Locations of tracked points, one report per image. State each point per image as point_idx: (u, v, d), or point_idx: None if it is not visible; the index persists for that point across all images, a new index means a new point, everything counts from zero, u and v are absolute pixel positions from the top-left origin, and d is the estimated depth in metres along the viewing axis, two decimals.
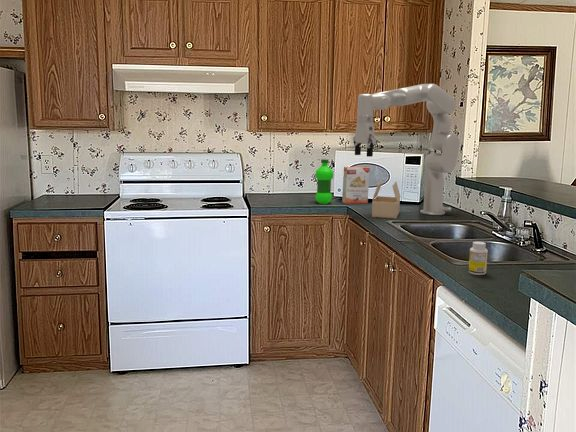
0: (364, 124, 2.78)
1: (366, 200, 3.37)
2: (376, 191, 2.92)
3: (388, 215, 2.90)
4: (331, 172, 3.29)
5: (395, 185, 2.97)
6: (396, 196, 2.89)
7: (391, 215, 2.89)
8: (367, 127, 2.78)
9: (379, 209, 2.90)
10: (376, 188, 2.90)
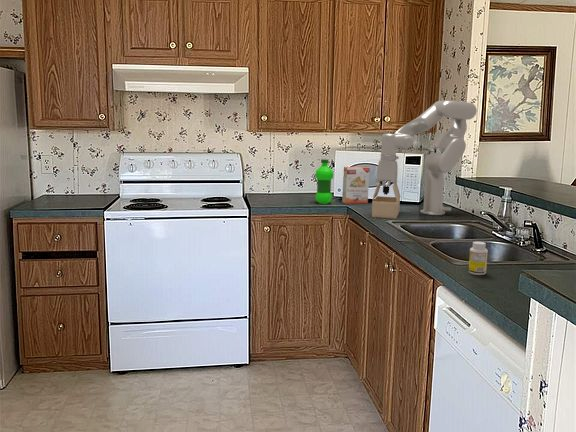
0: (393, 162, 2.93)
1: (366, 200, 3.37)
2: (376, 191, 2.92)
3: (388, 215, 2.90)
4: (331, 172, 3.29)
5: (395, 185, 2.97)
6: (396, 196, 2.89)
7: (391, 215, 2.89)
8: (396, 165, 2.93)
9: (379, 209, 2.90)
10: (376, 188, 2.90)
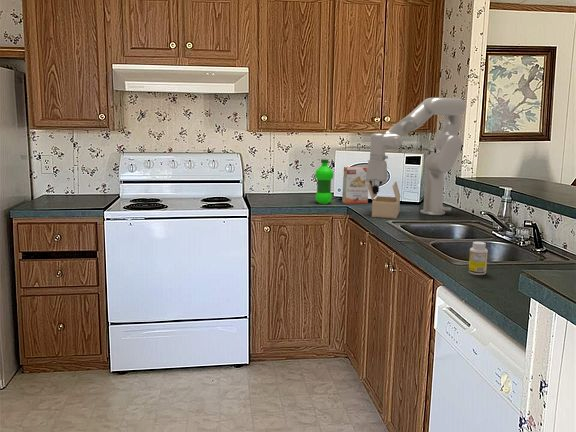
0: (382, 162, 2.94)
1: (366, 200, 3.37)
2: (370, 190, 2.92)
3: (388, 215, 2.90)
4: (331, 172, 3.29)
5: (395, 185, 2.97)
6: (396, 196, 2.89)
7: (391, 215, 2.89)
8: (385, 165, 2.95)
9: (379, 209, 2.90)
10: (368, 188, 2.91)
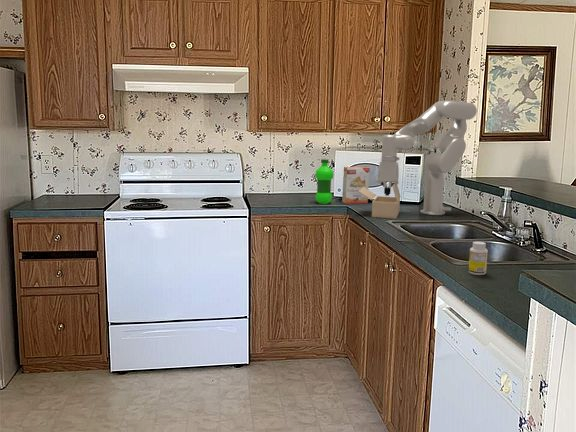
0: (393, 164, 2.93)
1: (366, 200, 3.37)
2: (364, 194, 2.93)
3: (388, 215, 2.90)
4: (331, 172, 3.29)
5: (395, 185, 2.97)
6: (396, 196, 2.89)
7: (391, 215, 2.89)
8: (397, 166, 2.94)
9: (379, 209, 2.90)
10: None
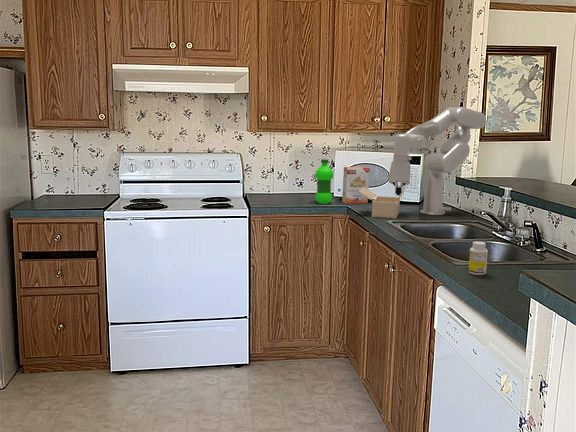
0: (405, 163, 2.91)
1: (366, 200, 3.37)
2: (364, 194, 2.93)
3: (388, 215, 2.90)
4: (331, 172, 3.29)
5: None
6: None
7: (391, 215, 2.89)
8: (408, 166, 2.92)
9: (379, 209, 2.90)
10: None
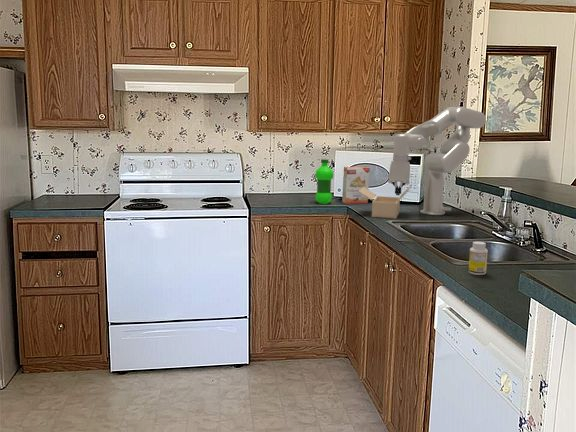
0: (405, 163, 2.91)
1: (366, 200, 3.37)
2: (364, 194, 2.93)
3: (388, 215, 2.90)
4: (331, 172, 3.29)
5: (408, 189, 2.96)
6: None
7: (391, 215, 2.89)
8: (408, 166, 2.92)
9: (379, 209, 2.90)
10: None
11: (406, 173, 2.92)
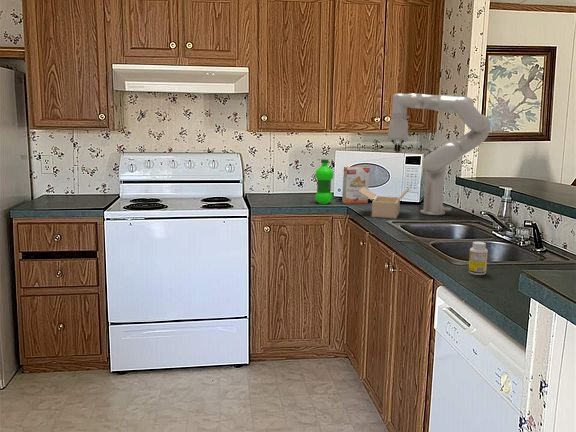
0: (404, 121, 3.06)
1: (366, 200, 3.37)
2: (364, 194, 2.93)
3: (388, 215, 2.90)
4: (331, 172, 3.29)
5: (408, 189, 2.96)
6: None
7: (391, 215, 2.89)
8: (407, 124, 3.07)
9: (379, 209, 2.90)
10: None
11: (405, 131, 3.07)
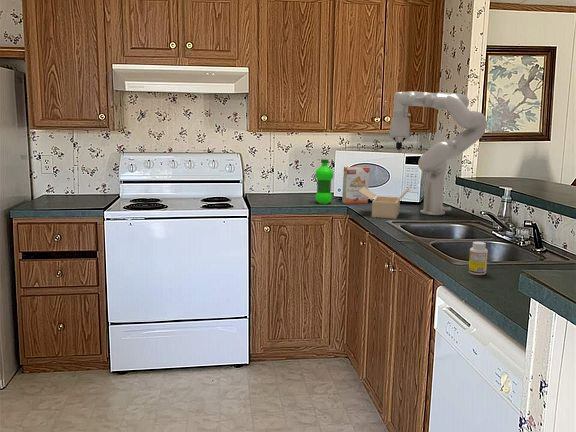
0: (405, 119, 3.11)
1: (366, 200, 3.37)
2: (364, 194, 2.93)
3: (388, 215, 2.90)
4: (331, 172, 3.29)
5: (408, 189, 2.96)
6: None
7: (391, 215, 2.89)
8: (408, 122, 3.12)
9: (379, 209, 2.90)
10: None
11: (406, 128, 3.12)
